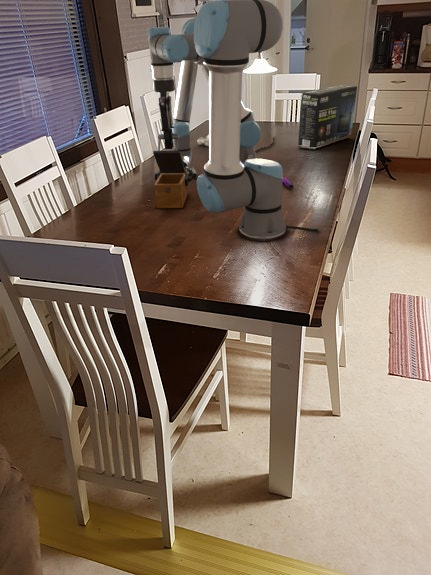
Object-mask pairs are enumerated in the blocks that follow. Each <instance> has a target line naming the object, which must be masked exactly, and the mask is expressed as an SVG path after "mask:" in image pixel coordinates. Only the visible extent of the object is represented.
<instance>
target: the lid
mask: <svg viewBox="0 0 431 575" xmlns="http://www.w3.org/2000/svg"><path fill="white" fill-rule="evenodd" d="M171 135H172V139H176V150H175V151H174V150H161V143H162V142H161V140H164V133H158V134H157V140H158V141H157V150H153V151H152V155H153V157H154V159H155V162H156V164H157V167H158V171H159V170H160V172H161V173H185V168H184V164H183V161H182V157H181V153H180V150H178V139H179V134H171Z"/></svg>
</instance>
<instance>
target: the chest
mask: <svg viewBox="0 0 431 575" xmlns="http://www.w3.org/2000/svg"><path fill="white" fill-rule="evenodd" d="M185 177H186V175H185V173H171V174H160V176H159V178H158V179H157V180H155V183H154V194H155V203H156V209H183V208H184V205H185V203H186V200H187V197H188V190H187V186H185Z"/></svg>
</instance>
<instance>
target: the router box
mask: <svg viewBox="0 0 431 575" xmlns="http://www.w3.org/2000/svg"><path fill="white" fill-rule="evenodd" d="M357 93H358V86H356V85H350V84H339V85H338V84H337V85H334V86H328V87H324V88H318V89H314V90H309V91H304V92H301V93H300V109H299V110H300V111H299V124H298V137H297V146H298V145H302V146H307V147H317V146H320V145H323V144H325V143H328V142H331V141H333V140H336V139H338V138H341V137H344V136H347V135H351V136H352V133H353V132H352V131H353V125H354V115H355V109H356V99H357ZM311 151H313V150H312V149H311Z"/></svg>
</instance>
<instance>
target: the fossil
mask: <svg viewBox="0 0 431 575" xmlns="http://www.w3.org/2000/svg"><path fill="white" fill-rule="evenodd" d="M196 141H197V144H198V145H199V146H206V147H209V134H207V135H206V136H205V137H204V136H201V137H199V138H197V140H196Z"/></svg>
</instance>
